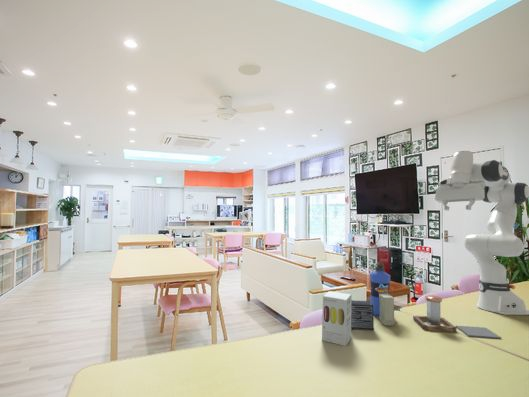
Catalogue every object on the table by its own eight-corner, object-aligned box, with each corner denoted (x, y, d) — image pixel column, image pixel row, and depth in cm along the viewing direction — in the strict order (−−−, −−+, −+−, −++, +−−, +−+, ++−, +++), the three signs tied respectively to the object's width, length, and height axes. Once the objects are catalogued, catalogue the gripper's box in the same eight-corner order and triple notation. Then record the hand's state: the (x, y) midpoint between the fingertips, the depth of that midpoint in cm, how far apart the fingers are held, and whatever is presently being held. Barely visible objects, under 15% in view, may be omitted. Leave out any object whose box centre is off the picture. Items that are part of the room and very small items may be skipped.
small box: (370, 324, 128) (370, 300, 129) (374, 330, 122) (374, 305, 122) (345, 323, 129) (345, 299, 130) (348, 329, 123) (348, 303, 123)
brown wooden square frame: (442, 321, 134) (442, 317, 134) (457, 332, 121) (457, 328, 121) (412, 319, 136) (412, 315, 136) (423, 330, 123) (423, 325, 123)
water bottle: (393, 317, 138) (393, 264, 139) (373, 317, 138) (373, 263, 139) (385, 311, 147) (385, 260, 148) (367, 310, 147) (367, 260, 148)
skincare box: (394, 326, 127) (394, 297, 128) (384, 325, 127) (384, 297, 128) (388, 320, 134) (388, 293, 134) (379, 320, 134) (379, 293, 134)
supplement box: (321, 340, 111) (321, 295, 112) (327, 332, 119) (328, 290, 120) (346, 346, 107) (346, 299, 108) (351, 337, 115) (352, 293, 116)
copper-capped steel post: (438, 323, 131) (437, 295, 132) (444, 328, 125) (444, 300, 126) (423, 322, 132) (422, 295, 133) (428, 327, 126) (428, 299, 127)
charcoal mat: (485, 329, 126) (485, 327, 126) (501, 338, 116) (501, 337, 116) (455, 326, 127) (455, 325, 127) (468, 336, 118) (468, 335, 118)
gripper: (488, 182, 132) (486, 211, 129) (441, 186, 149) (438, 212, 146) (482, 177, 129) (479, 206, 126) (435, 182, 146) (431, 208, 143)
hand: (457, 209), depth 136 cm, fingers open, 8 cm apart
